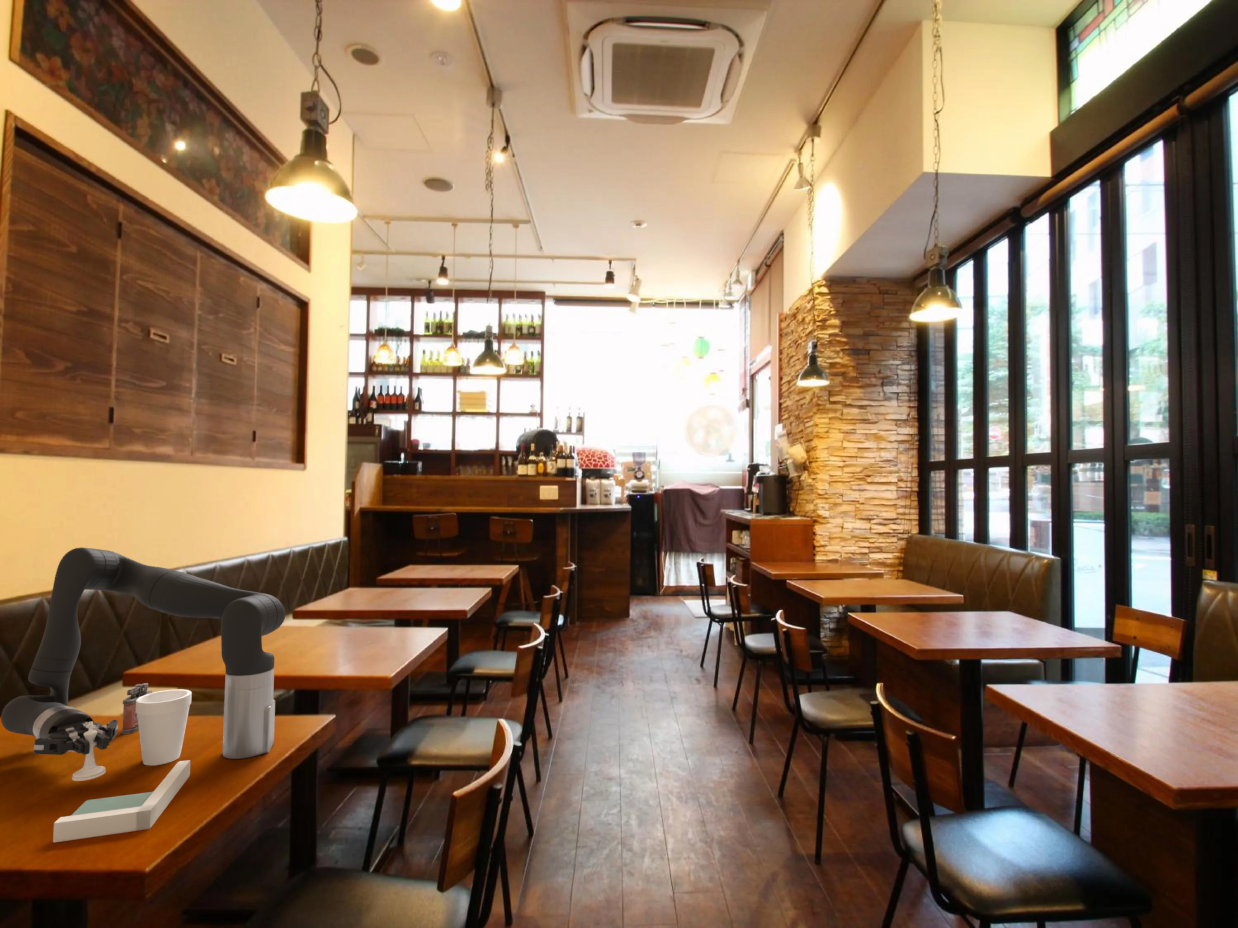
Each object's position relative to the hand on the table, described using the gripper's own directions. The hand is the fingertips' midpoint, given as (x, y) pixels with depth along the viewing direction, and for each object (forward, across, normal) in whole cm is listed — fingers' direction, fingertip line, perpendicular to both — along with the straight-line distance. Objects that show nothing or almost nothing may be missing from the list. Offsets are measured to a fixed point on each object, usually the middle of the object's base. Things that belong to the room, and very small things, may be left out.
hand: (96, 745), depth 118 cm
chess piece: (-3, 0, +6) cm, 7 cm away
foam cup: (-5, +13, +8) cm, 16 cm away
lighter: (-31, +18, +8) cm, 37 cm away
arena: (+12, +1, +8) cm, 15 cm away
